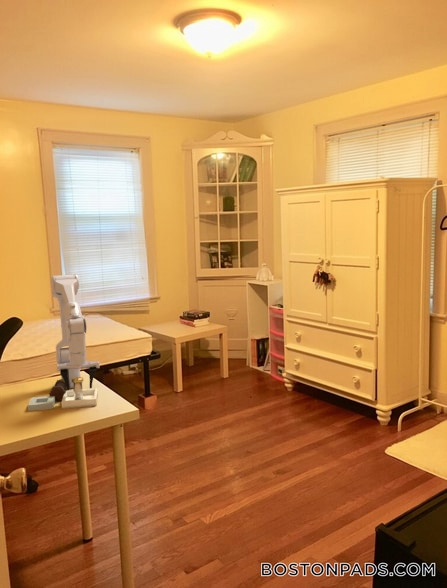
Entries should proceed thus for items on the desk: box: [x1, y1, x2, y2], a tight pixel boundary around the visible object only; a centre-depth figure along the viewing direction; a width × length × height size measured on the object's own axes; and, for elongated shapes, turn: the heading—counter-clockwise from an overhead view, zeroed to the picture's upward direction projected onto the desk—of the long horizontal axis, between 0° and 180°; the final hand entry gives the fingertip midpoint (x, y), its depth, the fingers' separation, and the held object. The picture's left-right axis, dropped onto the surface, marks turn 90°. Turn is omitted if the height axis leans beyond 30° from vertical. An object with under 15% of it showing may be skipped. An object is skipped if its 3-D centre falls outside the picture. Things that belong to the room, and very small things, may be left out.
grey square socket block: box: [27, 395, 56, 412], centre depth 172 cm, size 8×8×2 cm
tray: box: [61, 387, 99, 410], centre depth 176 cm, size 12×12×2 cm
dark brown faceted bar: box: [48, 378, 67, 402], centre depth 184 cm, size 6×5×15 cm
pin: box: [72, 376, 84, 400], centre depth 175 cm, size 4×4×8 cm
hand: (79, 388), depth 175 cm, fingers open, 7 cm apart
